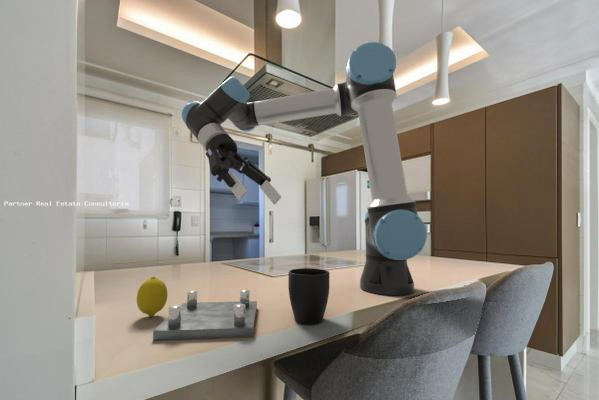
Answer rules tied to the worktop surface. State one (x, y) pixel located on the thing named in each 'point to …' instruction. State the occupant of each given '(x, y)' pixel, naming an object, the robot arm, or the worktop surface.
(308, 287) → the mug
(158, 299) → the lemon
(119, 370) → the worktop surface
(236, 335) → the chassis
